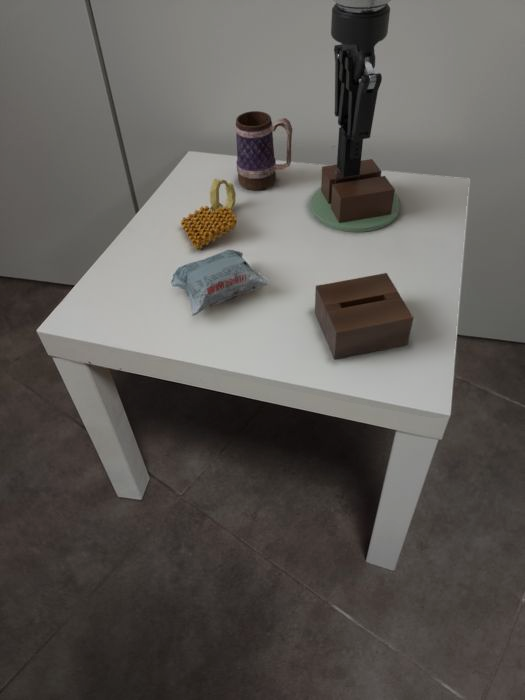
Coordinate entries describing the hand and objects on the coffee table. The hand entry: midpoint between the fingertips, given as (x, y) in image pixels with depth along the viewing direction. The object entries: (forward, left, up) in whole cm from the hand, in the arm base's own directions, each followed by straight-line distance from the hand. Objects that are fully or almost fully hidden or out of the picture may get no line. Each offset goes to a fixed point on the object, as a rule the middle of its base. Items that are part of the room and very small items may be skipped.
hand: (348, 170), depth 88 cm
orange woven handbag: (+1, +22, -7) cm, 23 cm away
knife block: (-28, +7, -7) cm, 30 cm away
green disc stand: (0, -2, -7) cm, 7 cm away
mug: (+12, +11, -7) cm, 18 cm away
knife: (0, 0, -6) cm, 6 cm away
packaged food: (-16, +24, -7) cm, 30 cm away
